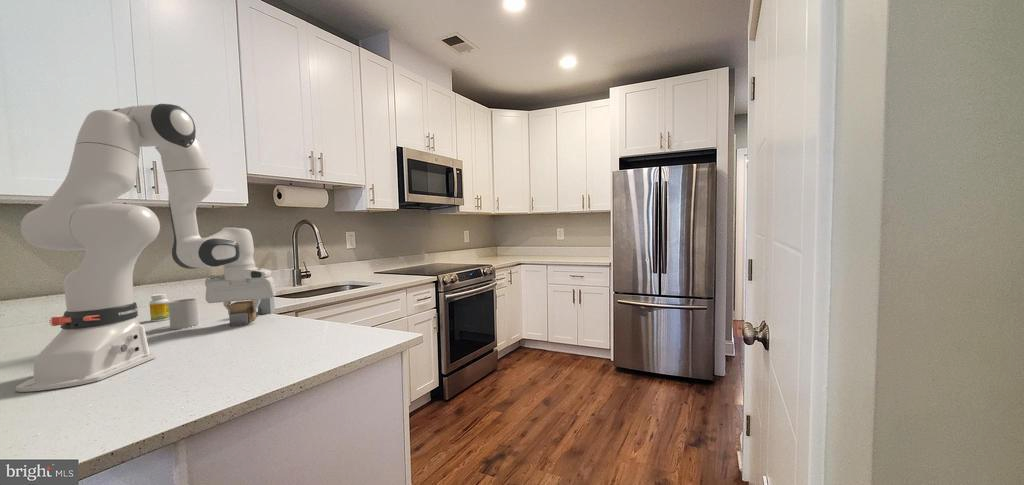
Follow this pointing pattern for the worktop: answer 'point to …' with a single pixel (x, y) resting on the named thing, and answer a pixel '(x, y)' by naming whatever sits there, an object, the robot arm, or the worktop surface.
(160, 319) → the supplement bottle
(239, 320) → the rail
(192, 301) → the cup
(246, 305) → the carriage
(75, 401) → the worktop surface
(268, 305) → the gauge cabinet
